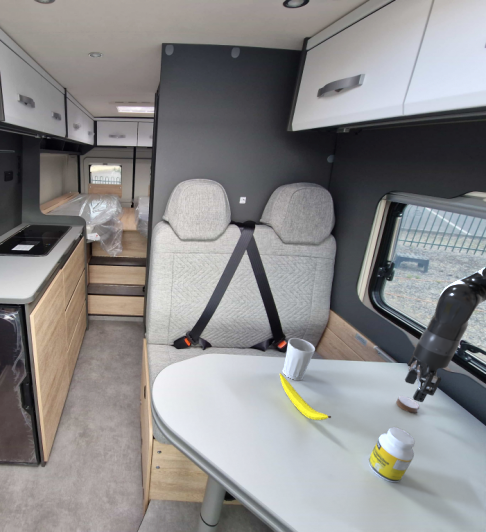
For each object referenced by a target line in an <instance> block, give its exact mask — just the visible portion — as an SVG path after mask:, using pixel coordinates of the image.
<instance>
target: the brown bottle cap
mask: <svg viewBox="0 0 486 532" xmlns="http://www.w3.org/2000/svg"><path fill="white" fill-rule="evenodd" d="M395 402H396V405H397V406H398V407H399V408H400V409H402V410H404V411H406V412H408V413H411V414H415V413H418V410H419V409H420V404H419V402H418V401H416V400H414V399H413V398H411V397H408V396H404V395H399V396H398V398H397V400H396V401H395Z"/></svg>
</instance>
